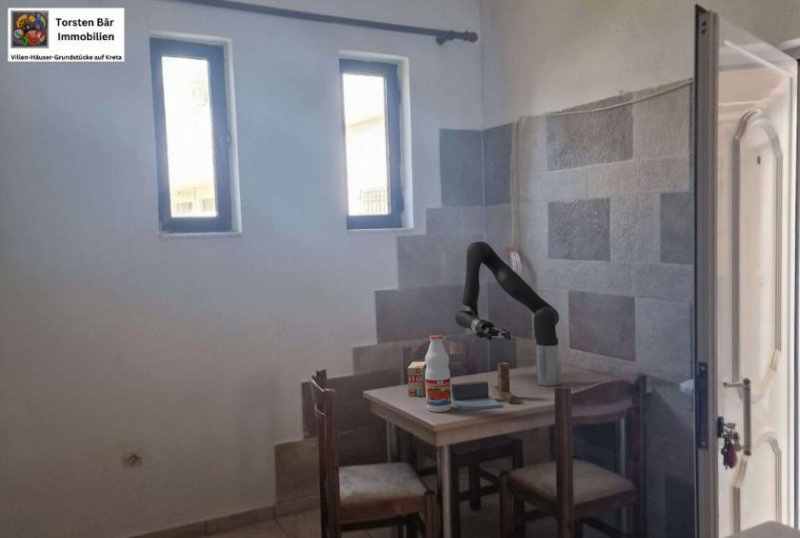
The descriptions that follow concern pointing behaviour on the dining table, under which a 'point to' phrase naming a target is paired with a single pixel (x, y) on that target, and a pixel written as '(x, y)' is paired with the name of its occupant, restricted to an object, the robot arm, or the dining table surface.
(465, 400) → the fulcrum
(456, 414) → the dining table surface
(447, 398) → the fruit juice
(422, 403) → the dining table surface
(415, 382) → the cardboard food box
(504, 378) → the walnut beam
